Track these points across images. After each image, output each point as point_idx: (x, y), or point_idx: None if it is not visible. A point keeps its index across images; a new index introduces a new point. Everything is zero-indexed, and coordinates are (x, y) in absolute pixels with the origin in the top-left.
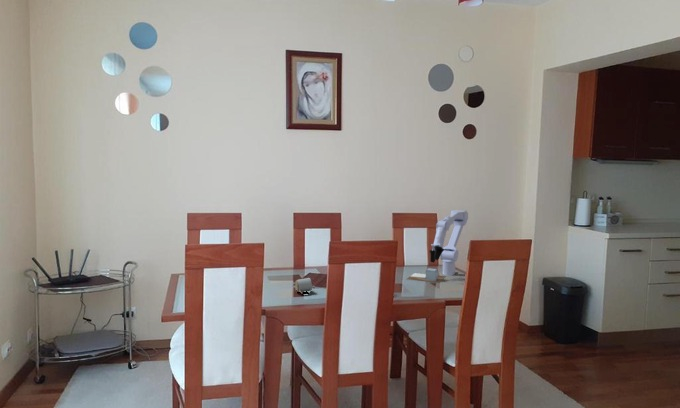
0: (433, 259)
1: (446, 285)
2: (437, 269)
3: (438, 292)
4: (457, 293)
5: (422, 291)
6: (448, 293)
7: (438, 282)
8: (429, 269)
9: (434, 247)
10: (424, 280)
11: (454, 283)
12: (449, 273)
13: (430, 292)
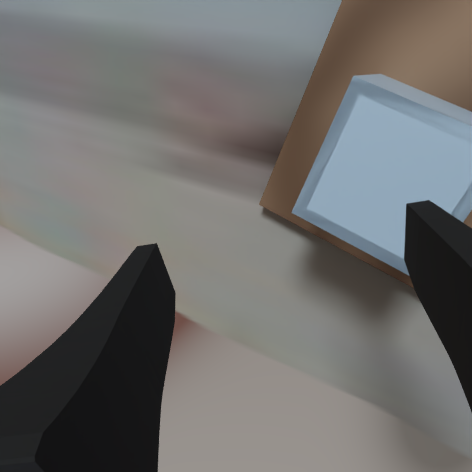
0: (428, 282)
1: (242, 253)
2: (402, 270)
3: (52, 132)
4: (57, 253)
5: (50, 3)
6: (46, 196)
7: (273, 199)
8: (398, 147)
9: (38, 427)
10: (364, 56)
11: (311, 343)
12: None
13: (40, 70)
